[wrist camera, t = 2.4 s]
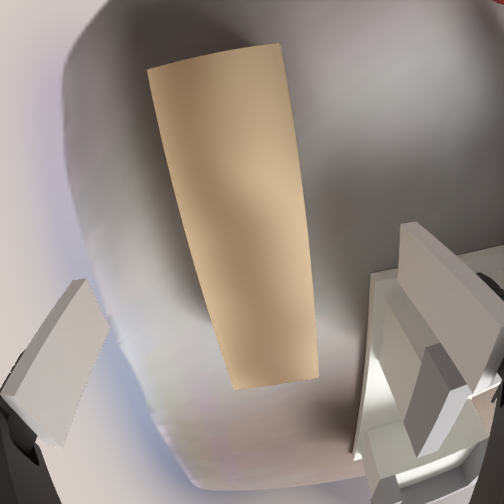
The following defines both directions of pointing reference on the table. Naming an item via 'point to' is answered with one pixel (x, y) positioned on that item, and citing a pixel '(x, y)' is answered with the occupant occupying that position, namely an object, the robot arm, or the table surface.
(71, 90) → the table surface
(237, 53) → the rail
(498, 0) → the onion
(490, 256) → the bracket stand
